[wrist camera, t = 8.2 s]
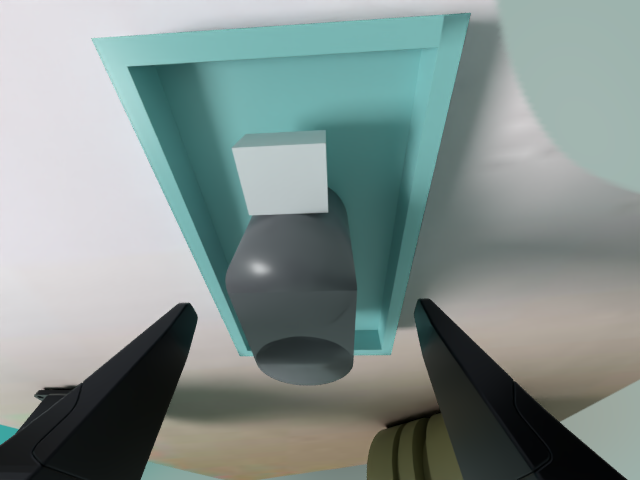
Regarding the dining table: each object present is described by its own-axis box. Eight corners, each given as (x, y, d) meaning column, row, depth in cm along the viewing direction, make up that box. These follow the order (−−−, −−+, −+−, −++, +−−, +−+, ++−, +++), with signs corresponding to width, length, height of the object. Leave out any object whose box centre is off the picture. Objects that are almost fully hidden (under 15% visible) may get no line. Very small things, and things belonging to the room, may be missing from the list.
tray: (385, 328, 16) (390, 354, 15) (247, 330, 17) (240, 356, 15) (441, 21, 7) (470, 12, 6) (136, 42, 8) (91, 38, 6)
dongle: (346, 312, 14) (352, 385, 11) (278, 313, 15) (265, 385, 11) (349, 119, 8) (364, 158, 5) (232, 125, 8) (176, 167, 5)
